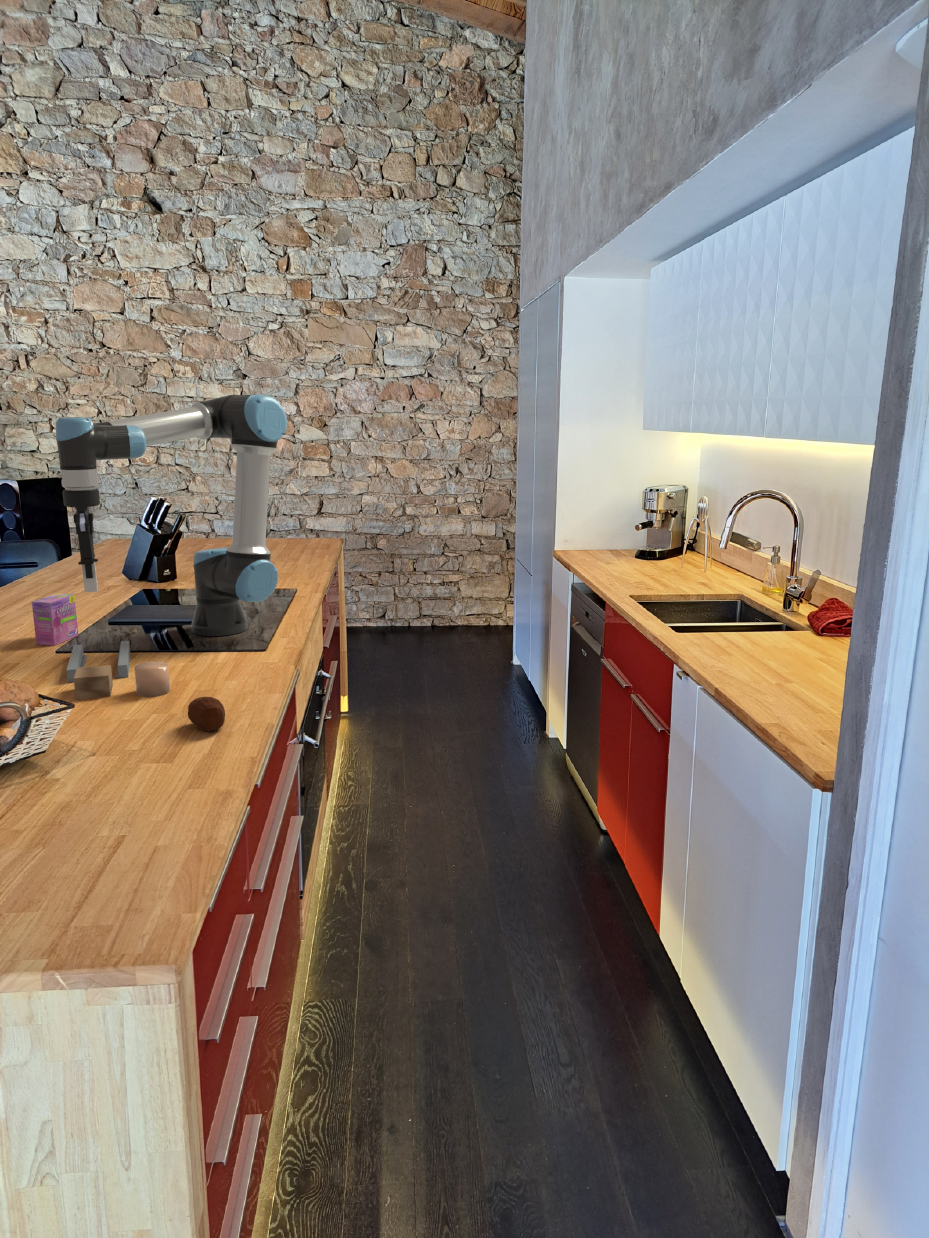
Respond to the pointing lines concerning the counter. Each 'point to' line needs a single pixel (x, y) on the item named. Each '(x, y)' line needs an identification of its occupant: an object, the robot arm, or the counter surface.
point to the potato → (206, 713)
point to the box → (55, 619)
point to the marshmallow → (152, 679)
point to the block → (93, 682)
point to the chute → (78, 656)
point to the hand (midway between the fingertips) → (91, 591)
